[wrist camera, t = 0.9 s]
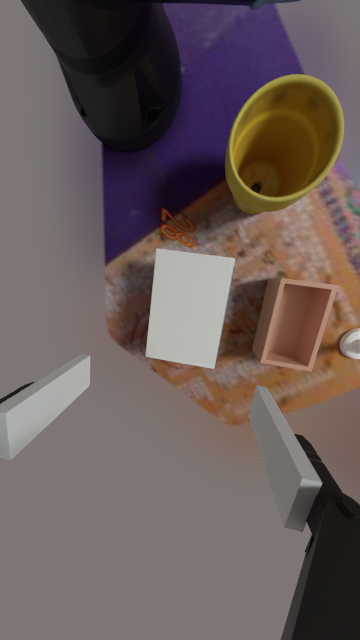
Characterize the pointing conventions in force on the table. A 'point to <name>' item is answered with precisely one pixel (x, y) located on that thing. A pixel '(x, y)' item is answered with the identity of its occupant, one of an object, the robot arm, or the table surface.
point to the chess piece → (351, 344)
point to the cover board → (188, 306)
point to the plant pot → (283, 143)
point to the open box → (292, 322)
